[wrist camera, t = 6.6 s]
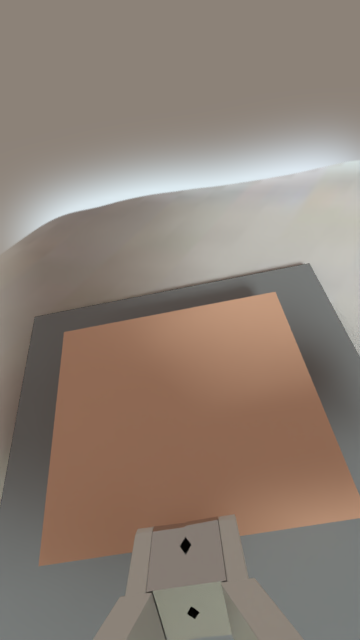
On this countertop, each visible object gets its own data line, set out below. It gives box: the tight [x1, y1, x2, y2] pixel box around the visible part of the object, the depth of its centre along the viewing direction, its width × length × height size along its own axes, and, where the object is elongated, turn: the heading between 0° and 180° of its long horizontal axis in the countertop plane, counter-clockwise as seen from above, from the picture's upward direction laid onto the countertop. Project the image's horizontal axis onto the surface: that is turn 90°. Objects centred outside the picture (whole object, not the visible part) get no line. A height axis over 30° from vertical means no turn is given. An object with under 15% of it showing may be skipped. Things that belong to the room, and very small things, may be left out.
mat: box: [0, 263, 360, 640], centre depth 14 cm, size 20×18×1 cm
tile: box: [39, 292, 360, 566], centre depth 13 cm, size 12×3×10 cm
